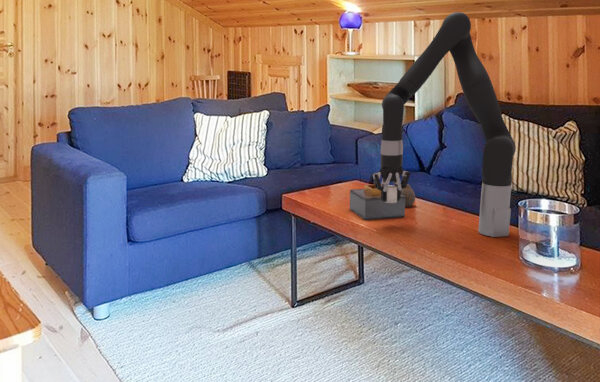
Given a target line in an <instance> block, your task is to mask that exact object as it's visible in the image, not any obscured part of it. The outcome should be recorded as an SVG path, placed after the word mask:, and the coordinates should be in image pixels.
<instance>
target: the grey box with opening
mask: <svg viewBox="0 0 600 382" xmlns="http://www.w3.org/2000/svg"><path fill="white" fill-rule="evenodd" d="M380 184H381V185H382V183H380ZM405 197H406V196H404V195H402V194H401V198H400V199H399V201H397V202H396V203H386V202H383V201H382V200H381V191H380V190H378V189H376V187H375V183H374V184H363V188H355V189H354V188H353V189H349V211H351V212H352V213H354V214H355V213H356V215H357V216H358V217H360V218H362V219H363V220H364V221H369V220H371V221H373V220H385V219H394V218H395V219H396V218H397V219H398V218H405V216H406V215H405V214H406V213H405V212H406V207H405Z"/></svg>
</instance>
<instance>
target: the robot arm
mask: <svg viewBox="0 0 600 382" xmlns="http://www.w3.org/2000/svg"><path fill="white" fill-rule="evenodd" d="M471 29H472V22H471V19H470V17H469V16H468V15H467V14H466V13H463V12H460V11H458V12H457V11H456V12H452V13H450V14H449V15H447V16H446V17H445V18H444V19H443V21H442V23H441V26H440V27H439V28H438V31H437V32H436V34H435V36H434V37H433V38H432V40H431V42H430V43H429V45H428V46H427V47H426V48H425V49H424V50H423V52H422V53H421V54H420V56H418V58H417V59H416V60H415V61H414V62H413V64H412V65H411V66H410V67H409V68H408V69H407V70H406V72H405V73H404V74H403V76H402V77H401V78H400V80H399V81H398V82H397V83H396V85H394V86H393V87H392V88H391V89H390V91H389V92H388V93H386V94H385V96H384V98H383V99H382V102H381V107H382V119H383V120H382V126H381V144H380V169H379V171H378V172H376V173H375V172H374V173H372V174H371V175H372V179H373V183H374V184H375V187H376V189H378V190H380V191H381V200H382V201H383V202H386V201H387V192H386V190H387V186H388V185H390V183H392V182H393V185H394V186H397V201H399V199H400V198H401V190H402V189H403V188H406V186H407V184H408V182H409V180H410V176H411V171H407V170H404V169H403V163H404V161H403V158H404V157H403V156H404V155H403V154H404V153H403V152H404V144H403V131H404V130H403V121H404V114H405V111H404V110H405V105H406V103H407V102H408V101H409V100H410V98H412V96H415V94H416V93H417V92H418V91H419V90H420V89H421V88H422V86H423V85H424V84H425V83H426V82H427V81H428V79H429V77H431V76H432V74H433V72H434V71H435V69H436V68H437V67H438V65H439V64H440V62H441V61H442V60H443V58H444V57H445V56H446V55H447V54H448V53H449V52H450V55H451V56H452V60H453V62H454V64H455V68H456V73H457V78H458V81H459V84H460V86H461V90H462V93H463V95H464V98H465V100H466V103H467V105H468V108H469V109H470V111H471V112H472V114H473V115H474V117H475V118H476V120H477V122H478V123H479V125H480V127H481V130H482V132H483V136H484V140H485V144H484V146H483V152H482V161H481V162H482V163H481V164H482V167H481V176H482V178H481V179H482V180H481V181H482V182H481V192H480V205H479V217H478V218H479V219H478V231H477V232H478V233H479V234H481V235H483V236H488V237H492V238H501V237H508V236H510V224H511V215H512V214H511V213H512V212H511V211H512V209H511V208H510V206H511V205H510V203H511V194H512V183H513V172H512V171H513V160H514V156H515V153H516V150H517V148H516V143H515V141H514V139H513V137H512V134H511V133H510V131H509V129H508V127H507V125H506V122H505V121H504V118H503V116H502V111H501V108H500V103H499V101H498V98H497V94H496V92H495V88H494V85H493V83H492V80H491V78H490V76H489V73H488V72H487V70H486V68H485V66H484V65H483V63H482V61H481V60H480V58H479V56H478V54H477V52H476V50H475V47H474V44H473V39H472V36H471ZM401 176H402V178H401ZM381 177H382V180H381V181H380V179H381ZM381 184H382V185H381Z"/></svg>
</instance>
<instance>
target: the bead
mask: <svg viewBox="0 0 600 382" xmlns="http://www.w3.org/2000/svg"><path fill="white" fill-rule="evenodd" d="M386 192H387V201H386V203H396V202H397V186H395V184H393V185H392V184H389V185H388V186H387V190H386Z"/></svg>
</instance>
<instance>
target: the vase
mask: <svg viewBox="0 0 600 382" xmlns="http://www.w3.org/2000/svg"><path fill="white" fill-rule="evenodd" d="M401 194H402V195H404V196H406V197H405V208H411V207H413V205H414V204H415V201H416V194H415V191H414V190H413V188H412V187H411V185H410V184H408V183H407V186H406V188H403V189H402V190H401Z"/></svg>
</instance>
